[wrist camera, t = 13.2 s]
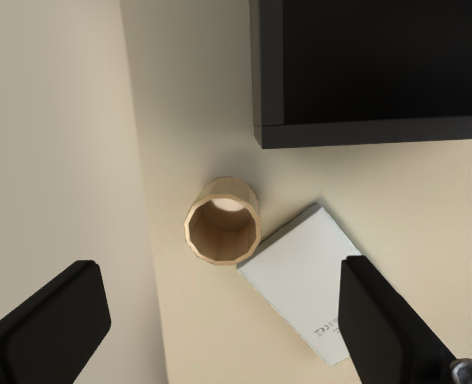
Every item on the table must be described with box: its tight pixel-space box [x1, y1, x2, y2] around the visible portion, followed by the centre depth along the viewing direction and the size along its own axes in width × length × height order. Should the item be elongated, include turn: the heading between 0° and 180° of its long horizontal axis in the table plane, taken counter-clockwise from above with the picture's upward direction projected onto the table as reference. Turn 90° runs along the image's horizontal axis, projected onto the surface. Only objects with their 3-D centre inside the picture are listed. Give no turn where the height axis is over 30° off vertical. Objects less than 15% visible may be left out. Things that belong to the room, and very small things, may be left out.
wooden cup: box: [184, 177, 261, 265], centre depth 17 cm, size 5×5×5 cm
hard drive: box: [237, 203, 361, 366], centre depth 21 cm, size 2×8×12 cm
